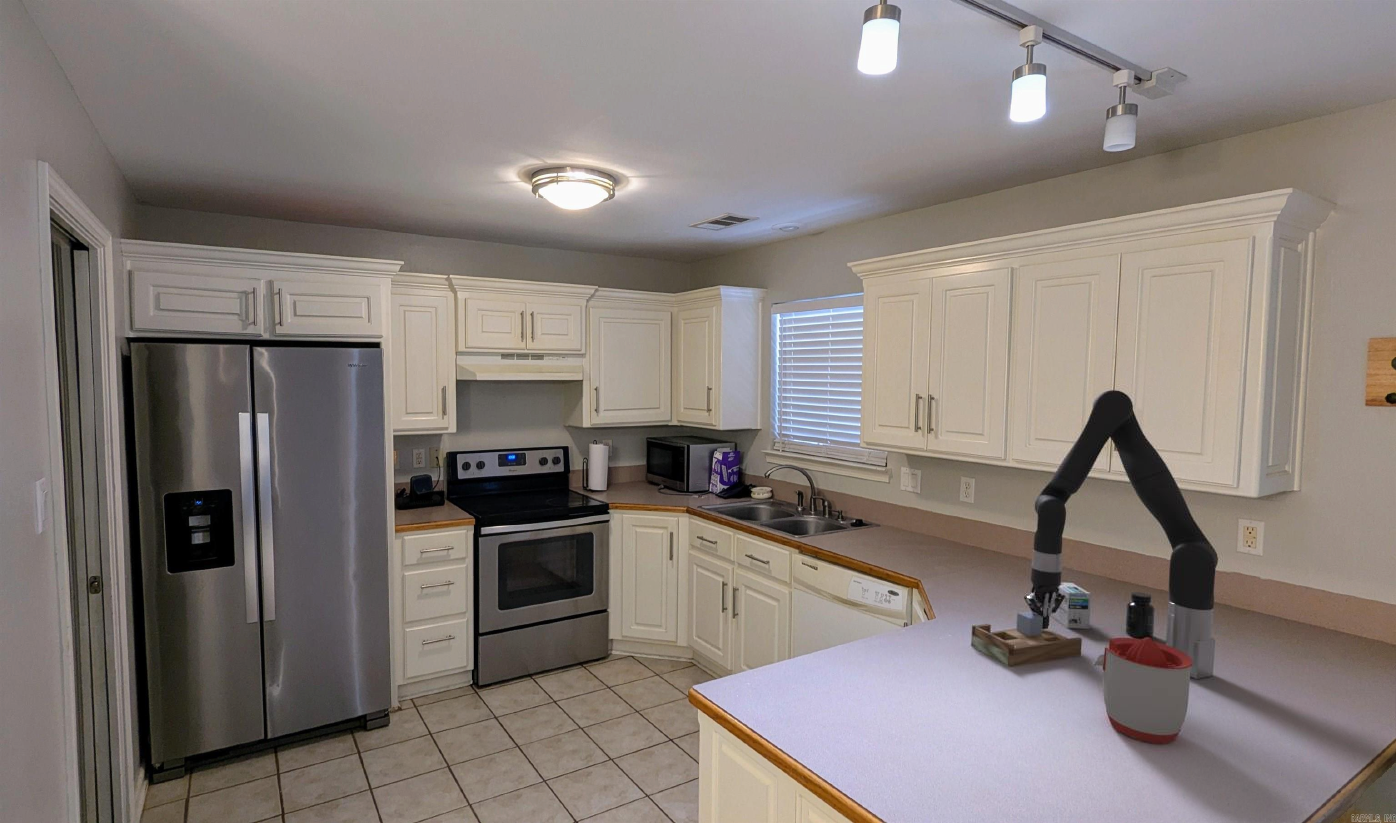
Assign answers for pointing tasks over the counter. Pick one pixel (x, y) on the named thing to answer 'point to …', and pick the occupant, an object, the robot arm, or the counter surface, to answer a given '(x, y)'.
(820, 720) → the counter surface
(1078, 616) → the light bulb box
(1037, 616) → the block
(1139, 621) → the supplement bottle
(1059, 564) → the robot arm
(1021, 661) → the board
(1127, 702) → the citrus juicer
